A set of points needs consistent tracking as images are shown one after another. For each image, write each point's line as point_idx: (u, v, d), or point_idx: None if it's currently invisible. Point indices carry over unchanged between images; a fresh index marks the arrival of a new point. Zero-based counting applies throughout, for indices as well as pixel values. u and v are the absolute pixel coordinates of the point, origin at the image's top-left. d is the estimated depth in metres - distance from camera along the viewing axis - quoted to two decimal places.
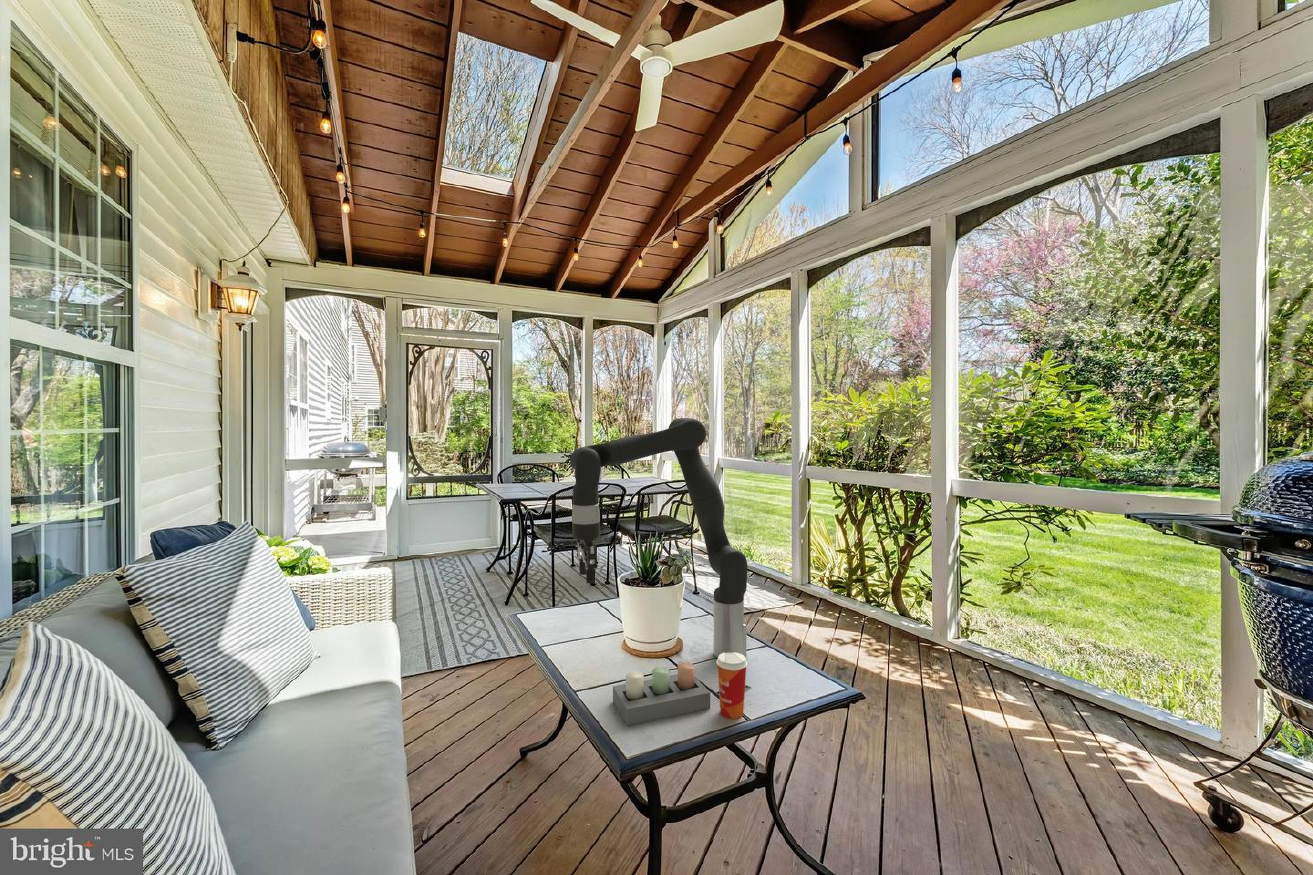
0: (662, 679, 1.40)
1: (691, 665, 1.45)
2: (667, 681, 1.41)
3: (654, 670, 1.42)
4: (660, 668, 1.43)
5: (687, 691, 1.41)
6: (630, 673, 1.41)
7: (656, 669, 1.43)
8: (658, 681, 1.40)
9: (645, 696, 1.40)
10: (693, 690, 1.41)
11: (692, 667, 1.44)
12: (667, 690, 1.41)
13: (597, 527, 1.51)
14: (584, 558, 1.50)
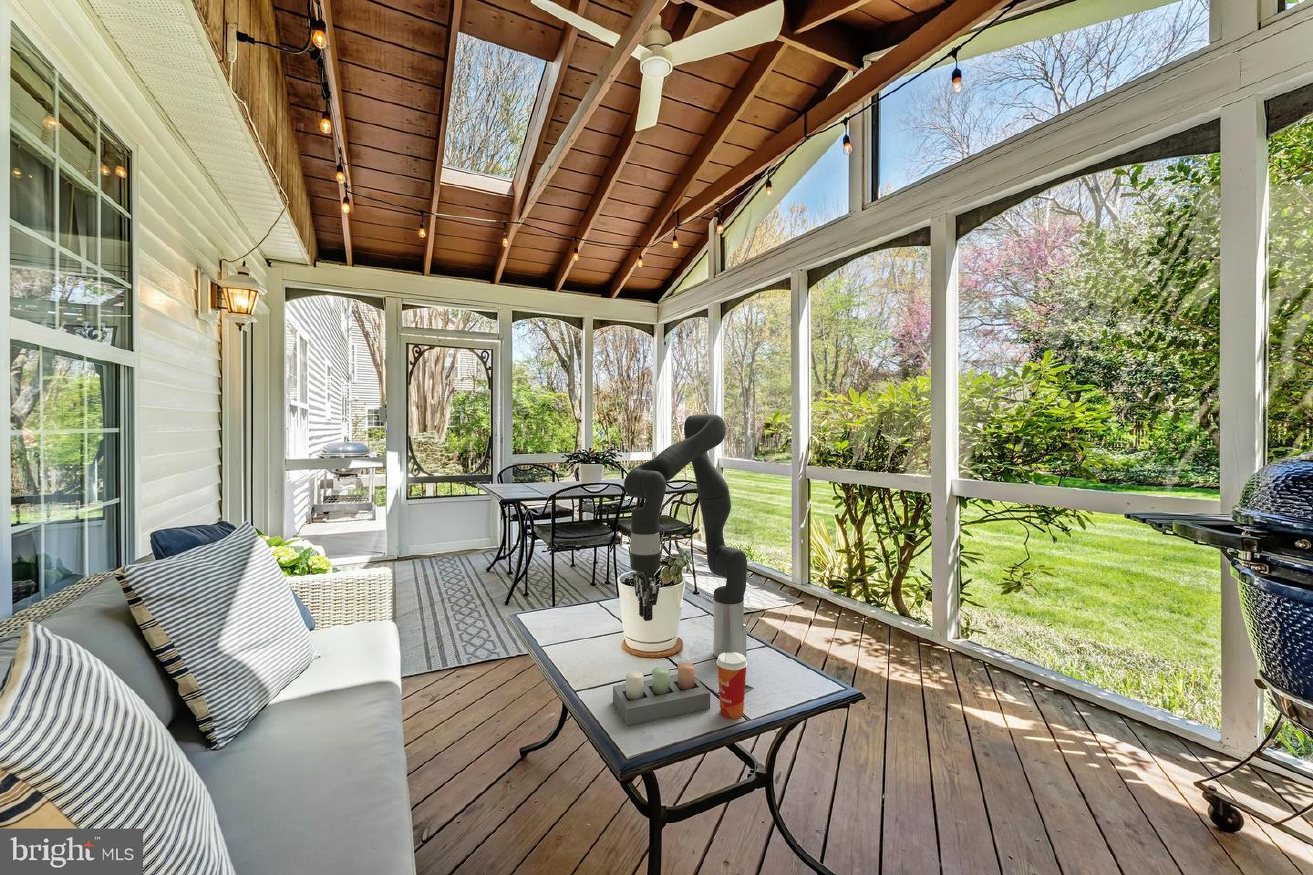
0: (662, 679, 1.40)
1: (691, 665, 1.45)
2: (667, 681, 1.41)
3: (654, 670, 1.42)
4: (660, 668, 1.43)
5: (687, 691, 1.41)
6: (630, 673, 1.41)
7: (656, 669, 1.43)
8: (658, 681, 1.40)
9: (645, 696, 1.40)
10: (693, 690, 1.41)
11: (692, 667, 1.44)
12: (667, 690, 1.41)
13: (658, 558, 1.37)
14: (643, 594, 1.37)
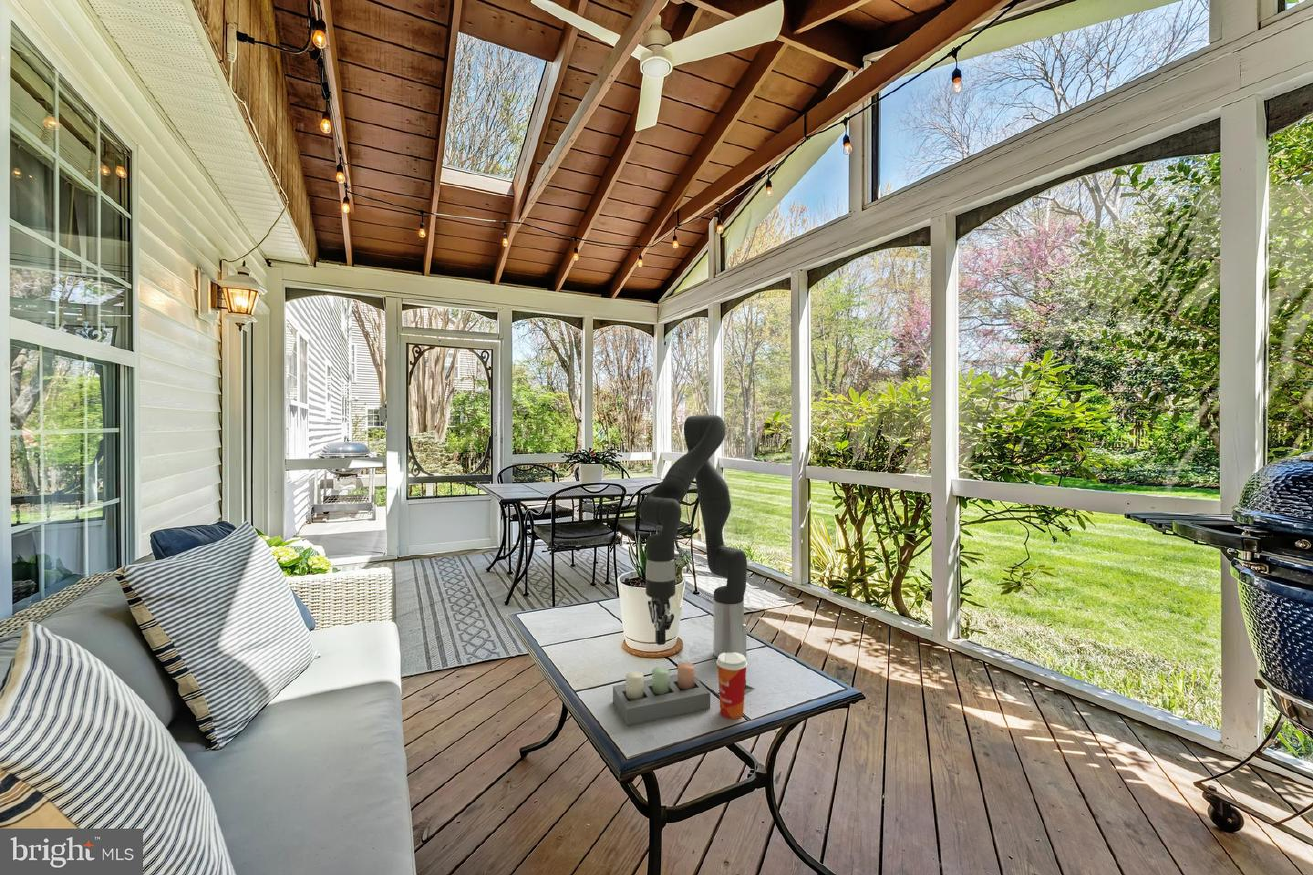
0: (662, 679, 1.40)
1: (691, 665, 1.45)
2: (667, 681, 1.41)
3: (654, 670, 1.42)
4: (660, 668, 1.43)
5: (687, 691, 1.41)
6: (630, 673, 1.41)
7: (656, 669, 1.43)
8: (658, 681, 1.40)
9: (645, 696, 1.40)
10: (693, 690, 1.41)
11: (692, 667, 1.44)
12: (667, 690, 1.41)
13: (673, 584, 1.39)
14: (657, 620, 1.39)
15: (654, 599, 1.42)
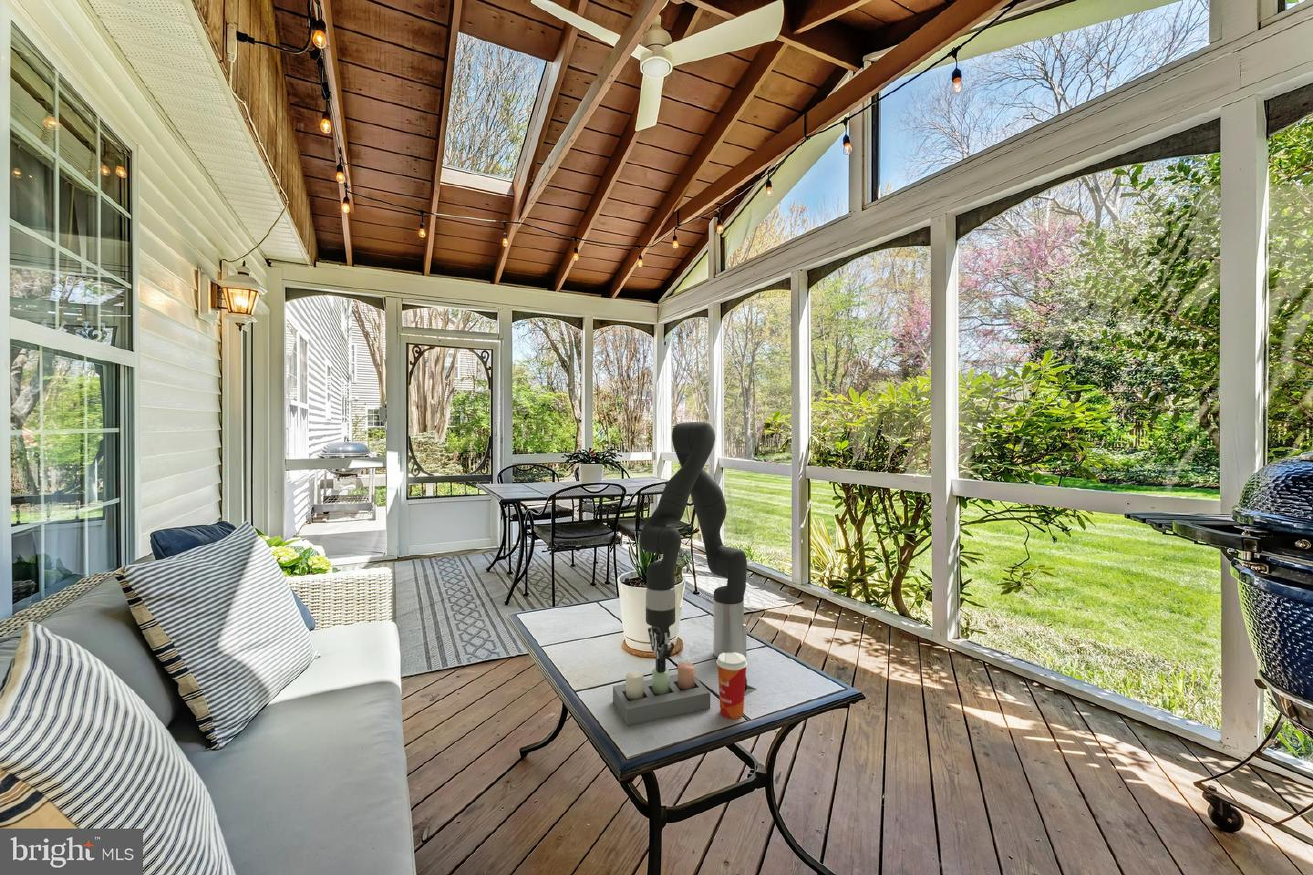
0: (662, 679, 1.40)
1: (691, 665, 1.45)
2: (667, 681, 1.41)
3: (654, 670, 1.42)
4: None
5: (687, 691, 1.41)
6: (630, 673, 1.41)
7: None
8: (658, 682, 1.40)
9: (645, 696, 1.40)
10: (693, 690, 1.41)
11: (692, 667, 1.44)
12: (667, 690, 1.41)
13: (673, 612, 1.39)
14: (657, 648, 1.40)
15: (654, 627, 1.42)
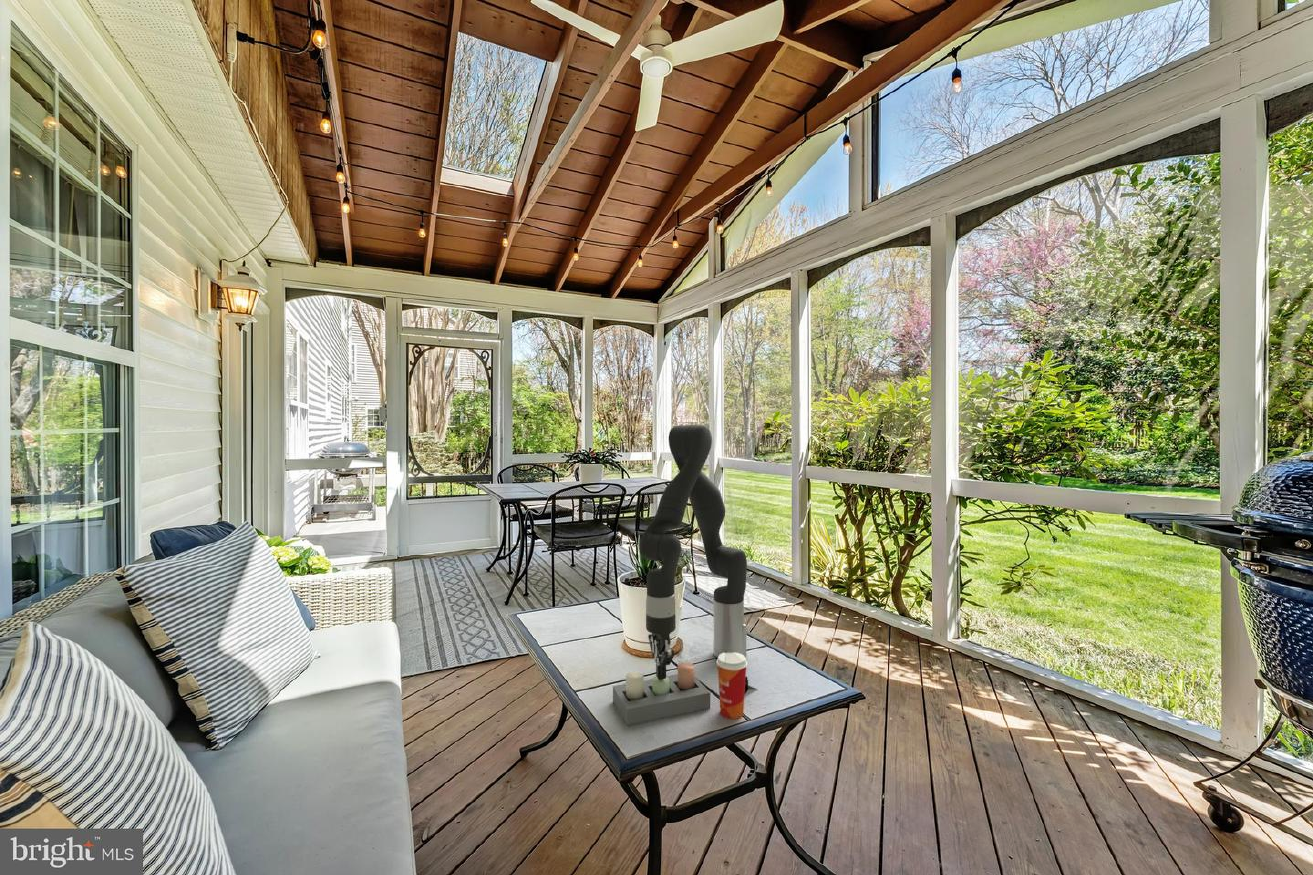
0: (662, 688, 1.40)
1: (691, 665, 1.45)
2: (667, 690, 1.41)
3: (654, 679, 1.42)
4: None
5: (687, 691, 1.41)
6: (630, 673, 1.41)
7: (656, 678, 1.43)
8: (658, 690, 1.40)
9: (645, 696, 1.40)
10: (693, 690, 1.41)
11: (692, 667, 1.44)
12: None
13: (674, 619, 1.40)
14: (657, 655, 1.40)
15: (654, 634, 1.42)
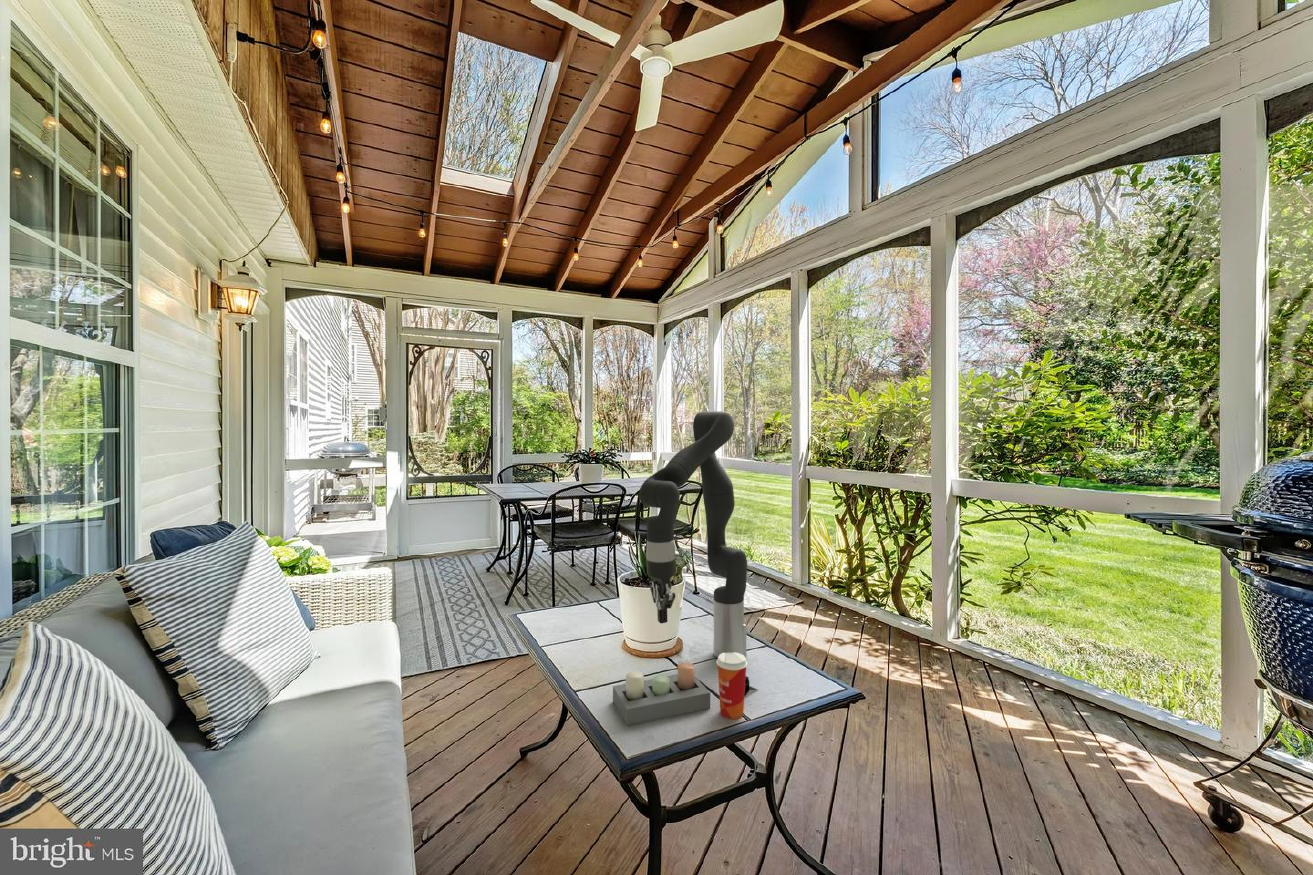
0: (662, 688, 1.40)
1: (691, 665, 1.45)
2: (667, 690, 1.41)
3: (654, 679, 1.42)
4: (660, 677, 1.43)
5: (687, 691, 1.41)
6: (630, 673, 1.41)
7: (656, 678, 1.43)
8: (658, 690, 1.40)
9: (645, 696, 1.40)
10: (693, 690, 1.41)
11: (692, 667, 1.44)
12: None
13: (674, 564, 1.43)
14: (659, 599, 1.43)
15: (655, 579, 1.46)
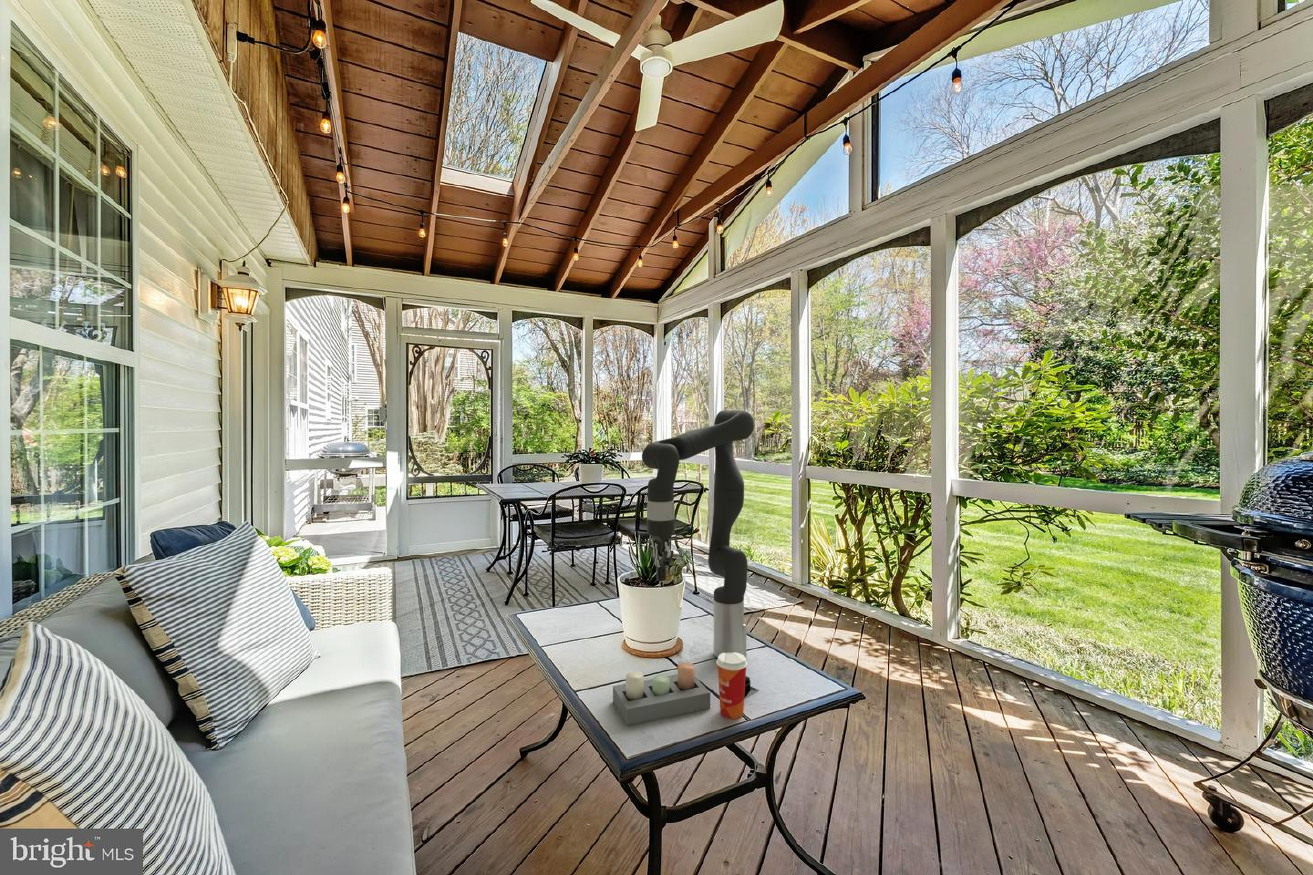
0: (662, 688, 1.40)
1: (691, 665, 1.45)
2: (667, 690, 1.41)
3: (654, 679, 1.42)
4: (660, 677, 1.43)
5: (687, 691, 1.41)
6: (630, 673, 1.41)
7: (656, 678, 1.43)
8: (658, 690, 1.40)
9: (645, 696, 1.40)
10: (693, 690, 1.41)
11: (692, 667, 1.44)
12: None
13: (673, 524, 1.49)
14: (658, 557, 1.49)
15: (655, 539, 1.52)
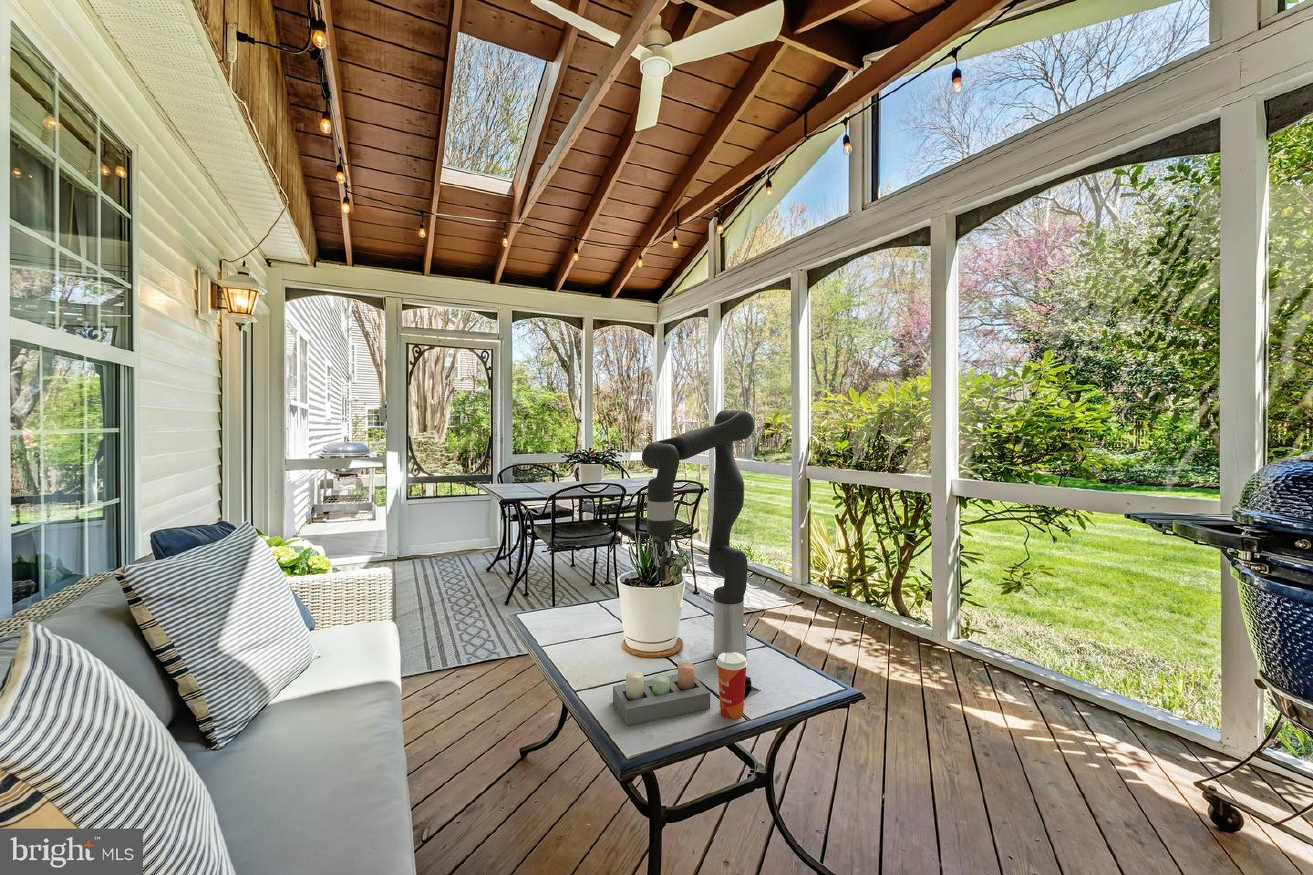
0: (662, 688, 1.40)
1: (691, 665, 1.45)
2: (667, 690, 1.41)
3: (654, 679, 1.42)
4: (660, 677, 1.43)
5: (687, 691, 1.41)
6: (630, 673, 1.41)
7: (656, 678, 1.43)
8: (658, 690, 1.40)
9: (645, 696, 1.40)
10: (693, 690, 1.41)
11: (692, 667, 1.44)
12: None
13: (673, 524, 1.49)
14: (658, 557, 1.49)
15: (655, 539, 1.52)
